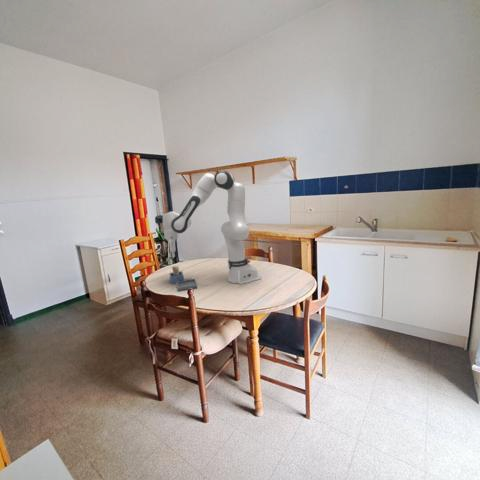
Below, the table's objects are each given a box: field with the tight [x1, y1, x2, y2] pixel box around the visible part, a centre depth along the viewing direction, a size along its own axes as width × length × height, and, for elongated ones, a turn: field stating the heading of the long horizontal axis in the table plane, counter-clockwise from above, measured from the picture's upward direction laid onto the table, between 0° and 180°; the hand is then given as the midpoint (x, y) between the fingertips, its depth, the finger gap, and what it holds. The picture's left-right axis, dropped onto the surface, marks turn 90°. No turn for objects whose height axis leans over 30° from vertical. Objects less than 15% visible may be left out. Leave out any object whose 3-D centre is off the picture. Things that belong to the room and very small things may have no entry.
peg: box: [171, 265, 180, 276], centre depth 180 cm, size 4×4×10 cm
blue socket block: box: [169, 270, 185, 285], centre depth 181 cm, size 9×9×5 cm
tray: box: [176, 278, 199, 292], centre depth 169 cm, size 12×12×2 cm
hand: (173, 255), depth 177 cm, fingers open, 8 cm apart
